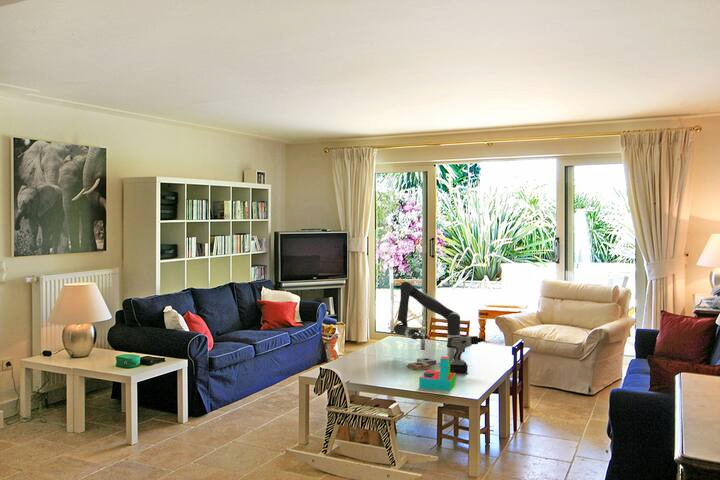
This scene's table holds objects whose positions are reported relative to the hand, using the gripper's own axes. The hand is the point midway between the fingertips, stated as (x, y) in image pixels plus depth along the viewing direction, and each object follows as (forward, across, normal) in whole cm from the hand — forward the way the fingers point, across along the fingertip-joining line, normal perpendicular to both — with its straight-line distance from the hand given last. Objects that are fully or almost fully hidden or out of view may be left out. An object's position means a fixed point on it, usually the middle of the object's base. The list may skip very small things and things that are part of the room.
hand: (425, 337), depth 427 cm
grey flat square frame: (-6, +5, +20) cm, 21 cm away
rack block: (+3, -6, +20) cm, 21 cm away
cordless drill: (+28, +14, +20) cm, 37 cm away
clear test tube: (-3, 0, +9) cm, 9 cm away
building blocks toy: (+44, -18, +20) cm, 52 cm away
